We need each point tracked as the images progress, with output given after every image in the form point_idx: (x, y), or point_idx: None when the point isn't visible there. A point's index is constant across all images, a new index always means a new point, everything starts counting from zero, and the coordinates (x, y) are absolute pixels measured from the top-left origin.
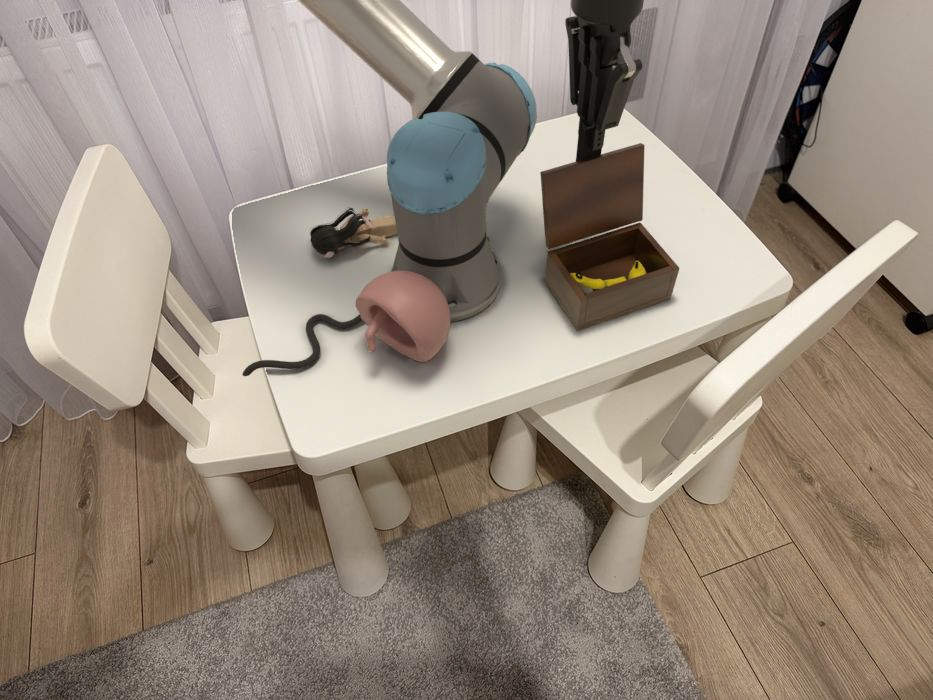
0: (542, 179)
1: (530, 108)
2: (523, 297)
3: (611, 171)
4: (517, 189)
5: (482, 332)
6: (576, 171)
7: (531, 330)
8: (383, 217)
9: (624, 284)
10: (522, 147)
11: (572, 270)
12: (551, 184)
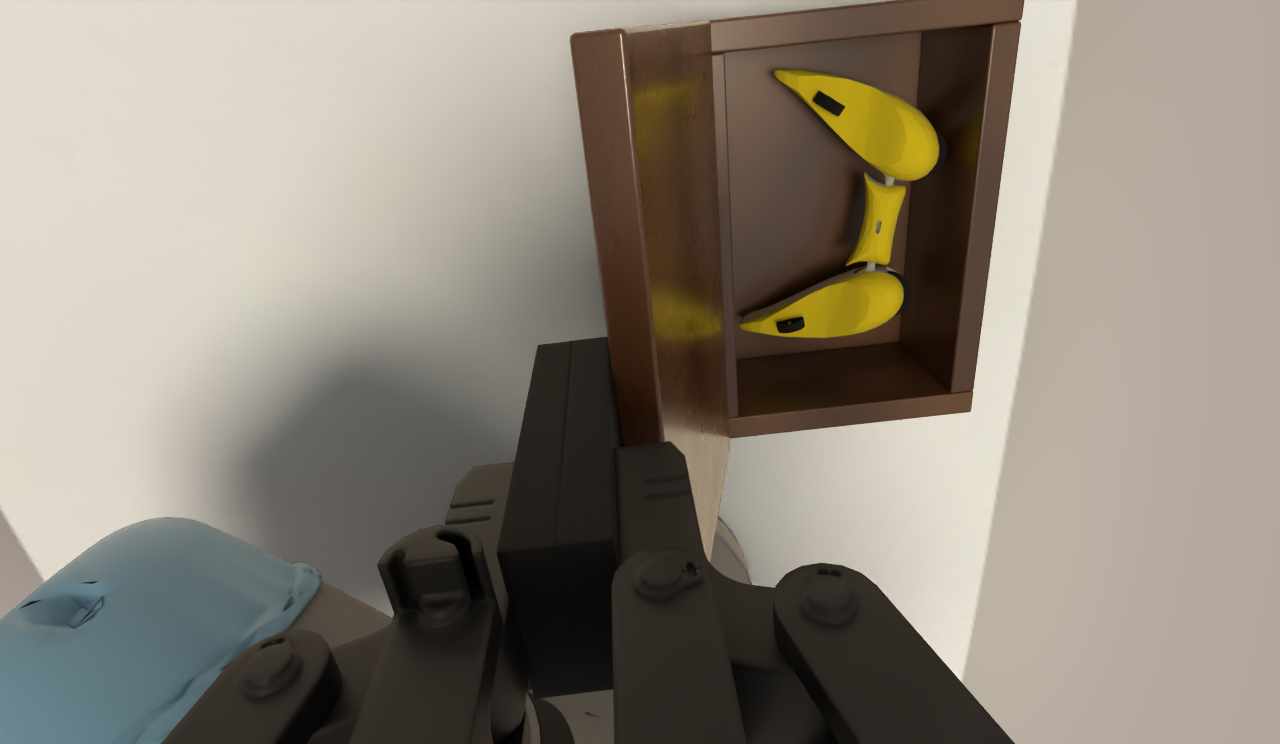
0: None
1: (124, 719)
2: (730, 441)
3: (673, 282)
4: (216, 318)
5: (802, 555)
6: None
7: (849, 454)
8: None
9: (983, 252)
10: (347, 634)
11: None
12: None
